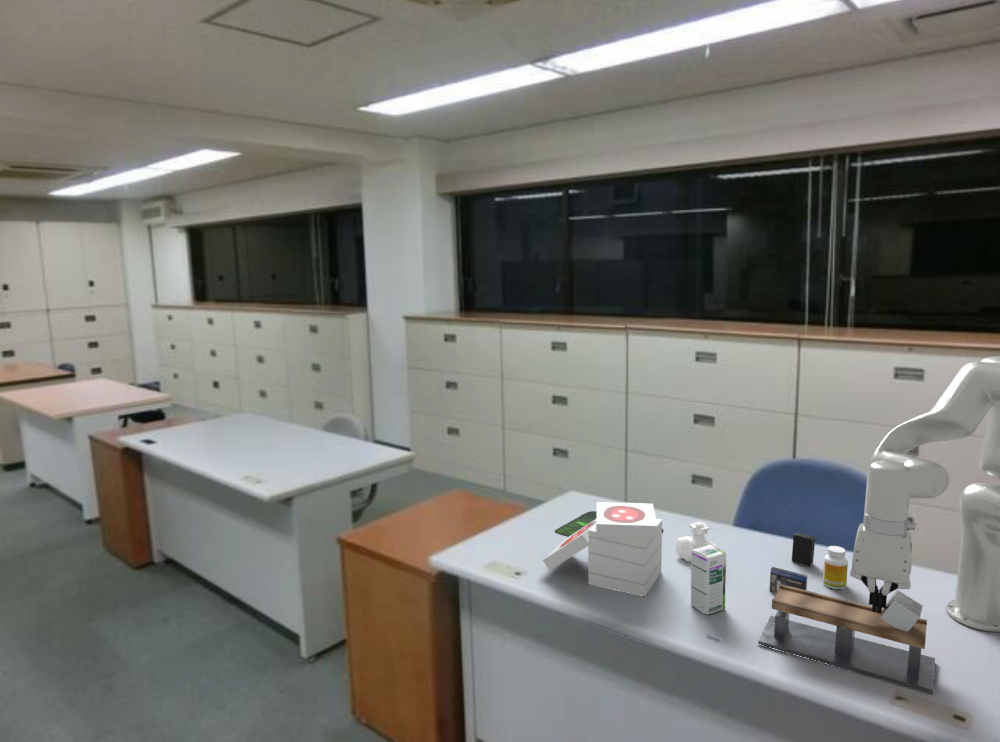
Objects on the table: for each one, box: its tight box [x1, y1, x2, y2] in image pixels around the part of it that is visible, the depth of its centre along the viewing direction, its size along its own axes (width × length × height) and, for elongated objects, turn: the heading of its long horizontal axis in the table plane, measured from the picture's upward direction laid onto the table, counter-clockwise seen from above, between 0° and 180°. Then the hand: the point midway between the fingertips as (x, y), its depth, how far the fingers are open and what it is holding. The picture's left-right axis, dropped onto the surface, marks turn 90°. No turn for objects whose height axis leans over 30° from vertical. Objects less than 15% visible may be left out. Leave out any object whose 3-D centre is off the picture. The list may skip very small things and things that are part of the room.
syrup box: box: [690, 545, 727, 616], centre depth 162 cm, size 6×6×14 cm
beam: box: [771, 584, 928, 650], centre depth 142 cm, size 28×9×3 cm, turn 57°
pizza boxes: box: [542, 501, 663, 597], centre depth 179 cm, size 19×30×18 cm, turn 61°
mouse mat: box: [554, 510, 664, 538], centre depth 208 cm, size 27×22×1 cm
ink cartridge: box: [791, 532, 816, 567], centre depth 183 cm, size 5×2×8 cm, turn 47°
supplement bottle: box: [822, 545, 849, 590], centre depth 171 cm, size 5×5×10 cm
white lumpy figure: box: [675, 521, 719, 563], centre depth 188 cm, size 12×8×11 cm
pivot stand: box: [757, 610, 936, 695], centre depth 143 cm, size 32×12×8 cm, turn 57°
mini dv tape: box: [769, 566, 808, 594], centre depth 167 cm, size 8×2×6 cm, turn 53°
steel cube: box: [880, 589, 923, 633], centre depth 135 cm, size 5×5×5 cm
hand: (877, 609), depth 138 cm, fingers closed
